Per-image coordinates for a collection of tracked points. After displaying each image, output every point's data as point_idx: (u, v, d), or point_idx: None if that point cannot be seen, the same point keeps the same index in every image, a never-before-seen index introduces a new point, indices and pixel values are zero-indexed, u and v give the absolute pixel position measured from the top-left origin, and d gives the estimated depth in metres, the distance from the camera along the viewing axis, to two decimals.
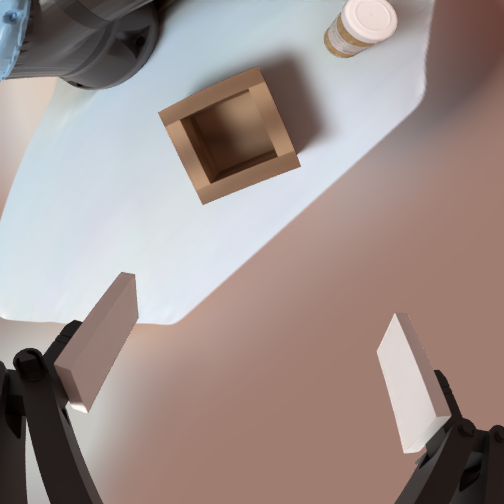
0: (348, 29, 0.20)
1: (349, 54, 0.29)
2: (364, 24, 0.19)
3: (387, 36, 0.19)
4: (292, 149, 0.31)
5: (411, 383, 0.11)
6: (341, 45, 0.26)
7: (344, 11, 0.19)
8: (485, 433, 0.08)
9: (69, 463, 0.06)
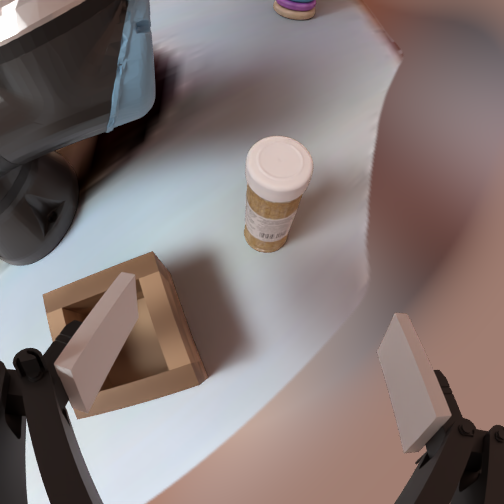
0: (252, 185, 0.21)
1: (271, 243, 0.30)
2: (269, 172, 0.20)
3: (300, 184, 0.20)
4: (188, 361, 0.23)
5: (411, 383, 0.11)
6: (255, 225, 0.27)
7: (246, 161, 0.21)
8: (485, 433, 0.08)
9: (69, 463, 0.06)
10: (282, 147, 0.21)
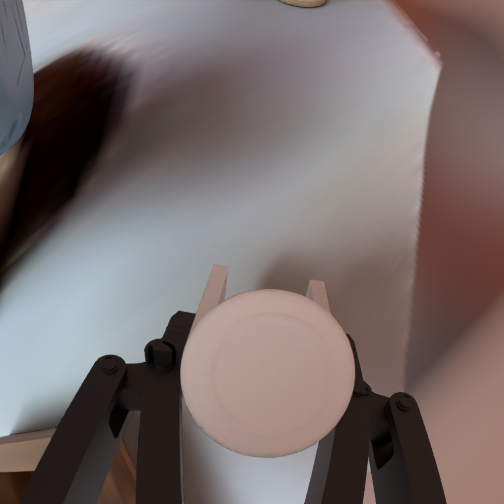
0: None
1: None
2: (239, 416, 0.07)
3: (317, 440, 0.07)
4: None
5: None
6: None
7: None
8: (385, 404, 0.10)
9: (173, 459, 0.07)
10: (277, 334, 0.08)
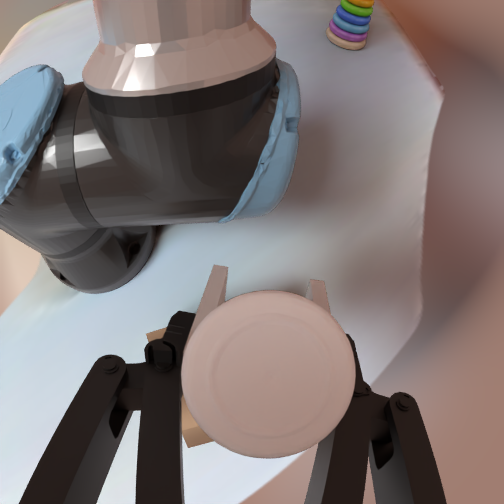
0: None
1: None
2: (240, 417, 0.07)
3: (317, 440, 0.07)
4: None
5: None
6: None
7: None
8: (385, 404, 0.10)
9: (173, 459, 0.07)
10: (278, 335, 0.08)
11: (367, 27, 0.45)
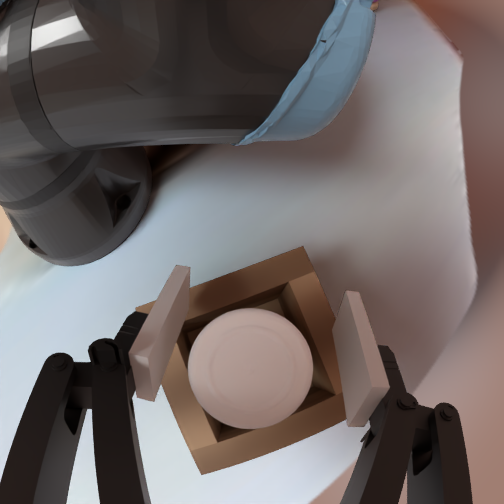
0: None
1: None
2: (229, 397, 0.10)
3: (285, 416, 0.10)
4: None
5: (354, 356, 0.13)
6: None
7: None
8: (429, 412, 0.10)
9: (129, 458, 0.07)
10: (255, 340, 0.11)
11: None
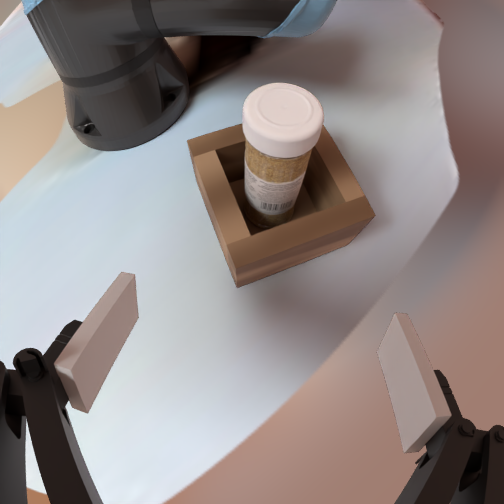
0: (250, 137, 0.17)
1: (274, 217, 0.26)
2: (271, 119, 0.16)
3: (308, 133, 0.16)
4: (362, 194, 0.23)
5: (411, 383, 0.11)
6: (256, 193, 0.23)
7: (243, 109, 0.17)
8: (485, 433, 0.08)
9: (69, 463, 0.06)
10: (286, 94, 0.17)
11: None
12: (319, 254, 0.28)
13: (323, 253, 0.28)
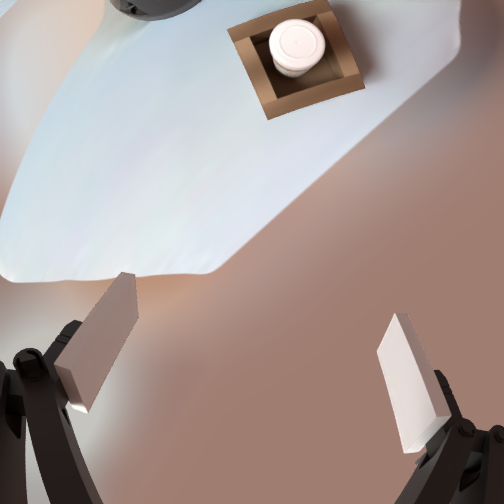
0: (275, 58, 0.23)
1: None
2: (288, 53, 0.22)
3: (312, 63, 0.22)
4: (357, 71, 0.28)
5: (411, 383, 0.11)
6: (281, 70, 0.29)
7: (269, 41, 0.22)
8: (485, 433, 0.08)
9: (69, 463, 0.06)
10: (299, 30, 0.21)
11: None
12: None
13: None
